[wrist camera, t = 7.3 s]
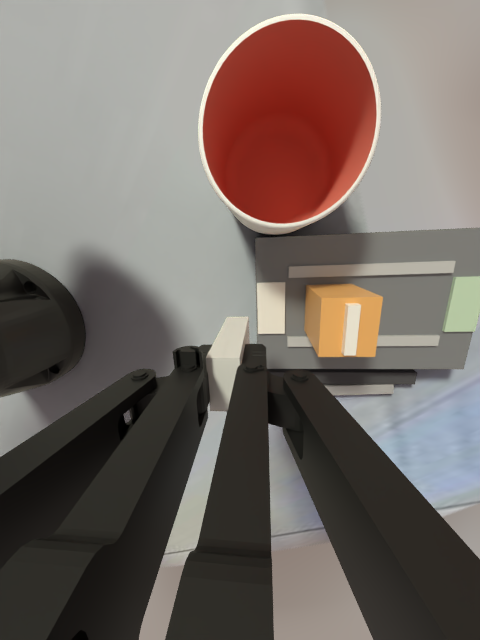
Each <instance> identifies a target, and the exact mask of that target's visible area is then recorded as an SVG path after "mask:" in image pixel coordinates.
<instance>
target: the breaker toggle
mask: <svg viewBox="0 0 480 640" xmlns="http://www.w3.org/2000/svg"><path fill="white" fill-rule="evenodd" d="M382 301H383V297H382V296H380V295H377V294H375V293H373V292H370V291H368V290H365V289H363V288H360V287H358V286H355V285H353V284H322V285H306V297H305V324H304V331H305V332H306V334H307V336H308V338H309V340H310V342H311V344H312V346H313V348H314V350H315V352H316V353H317V355H318V357H375V355H376V347H377V339H378V332H379V324H380V317H381V309H382Z"/></svg>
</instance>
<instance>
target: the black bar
mask: <svg viewBox="0 0 480 640" xmlns="http://www.w3.org/2000/svg"><path fill="white" fill-rule="evenodd" d="M267 370H268V372H269V373H271V374H273V375H275V376H278V377H283V375H284V373H285V372H287V371H289V370H294V369H267ZM303 370H306V371H309V372H311V373H313V374H314V375H315V376H316V377H317V378H318V379H319V380H320V381H321V382H322V384H415V381H416V375H417V372H416V371H414V370H413V369H303Z"/></svg>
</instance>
